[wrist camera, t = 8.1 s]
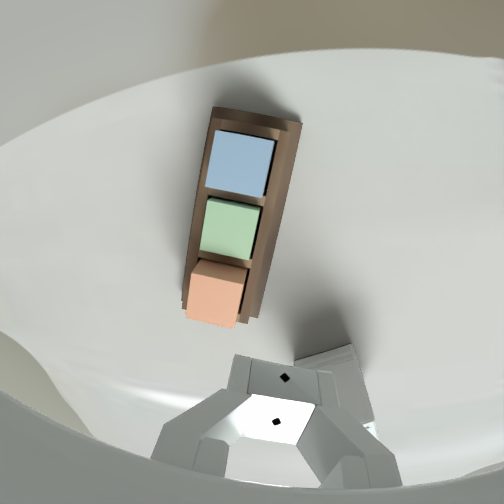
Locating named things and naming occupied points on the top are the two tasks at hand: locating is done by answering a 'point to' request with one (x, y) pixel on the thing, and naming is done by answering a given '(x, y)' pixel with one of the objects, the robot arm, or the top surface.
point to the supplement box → (345, 382)
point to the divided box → (247, 201)
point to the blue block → (239, 163)
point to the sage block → (229, 227)
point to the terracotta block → (215, 292)
